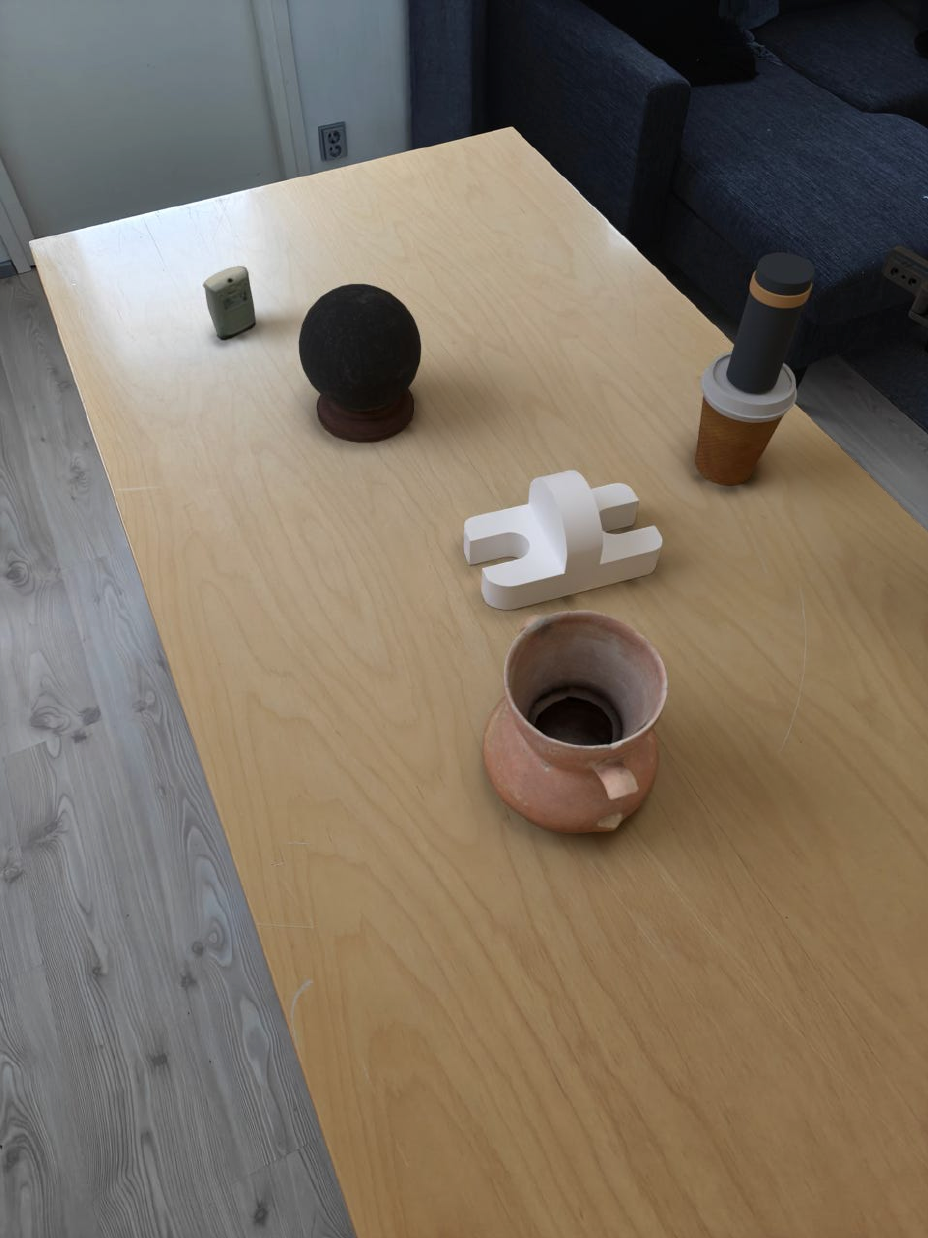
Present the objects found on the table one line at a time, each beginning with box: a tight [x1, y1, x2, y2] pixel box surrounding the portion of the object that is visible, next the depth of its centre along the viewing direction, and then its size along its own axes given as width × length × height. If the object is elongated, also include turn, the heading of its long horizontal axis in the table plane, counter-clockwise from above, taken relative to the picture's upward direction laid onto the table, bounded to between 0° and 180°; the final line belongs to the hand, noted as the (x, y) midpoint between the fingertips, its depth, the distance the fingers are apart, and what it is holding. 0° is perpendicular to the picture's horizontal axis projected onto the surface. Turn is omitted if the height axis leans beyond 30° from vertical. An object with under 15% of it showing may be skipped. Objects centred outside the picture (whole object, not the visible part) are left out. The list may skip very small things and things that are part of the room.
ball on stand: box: [298, 283, 422, 443], centre depth 101 cm, size 13×13×15 cm
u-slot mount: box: [463, 469, 663, 611], centre depth 89 cm, size 18×10×10 cm, turn 109°
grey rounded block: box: [202, 265, 257, 341], centre depth 112 cm, size 6×5×8 cm
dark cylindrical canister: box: [726, 251, 816, 393], centre depth 87 cm, size 5×5×12 cm
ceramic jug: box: [482, 609, 669, 834], centre depth 74 cm, size 18×14×14 cm
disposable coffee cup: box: [694, 350, 798, 486], centre depth 97 cm, size 10×10×12 cm
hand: (925, 241), depth 71 cm, fingers open, 8 cm apart
